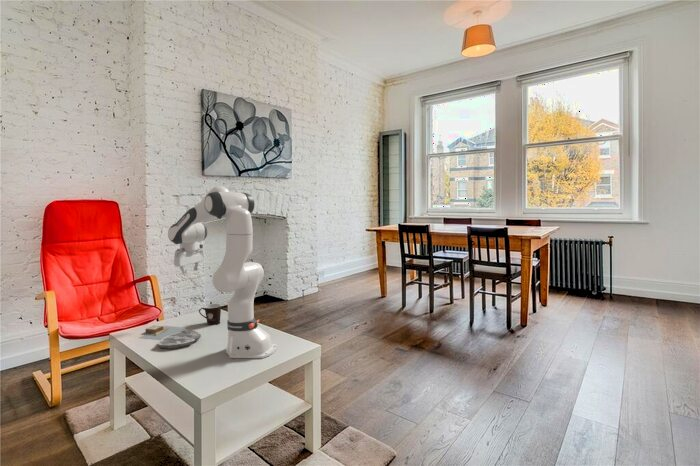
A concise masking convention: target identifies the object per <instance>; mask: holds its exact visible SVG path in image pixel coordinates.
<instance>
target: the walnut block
mask: <svg viewBox="0 0 700 466" xmlns="http://www.w3.org/2000/svg"><path fill="white" fill-rule="evenodd" d="M163 327H164V326H163V325H152V326H149V327H147V328H144V329H145V334H155V333H157V332H159V331H161V330H163Z"/></svg>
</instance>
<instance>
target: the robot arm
mask: <svg viewBox="0 0 700 466" xmlns="http://www.w3.org/2000/svg"><path fill="white" fill-rule="evenodd" d="M254 210H255V199H254V197H253V196H252V195H251V194H249V193H246V192H236V191H230V190H229V189H228V188H227V187H225V186H222V185H216V186H214V187H213V188H211V189H210V190H209V191H208V192H207V193H206V195H204V197H203V199H202V200H200V202H198V203H197V204H195V205H194V206H193V207H191V208H189V209H188V210H186V212H185V213H184V214H183V215H182V216H181V217H180V218H179V219H178V220H177V222H175V223H173V224H172V225H170V227H169V229H168V231H167V236H168V239H169V241H170V242H172V244H175V245H179V248H176V250H175V252H174V256H173V265H174V267H176V268H179V269H180V271H181V274H182V275H185V274H187V273H188V272H187V270H186V266H188V265H192V264H194V267H193V271H195V272H197V271H198V270H199V265H200V262H203V261H204V259H205V250H204V247H205V246H204V243H199V242H202V241H203V242H204V240H206V239H207V237H208V228H207V226H205V224H204V222H209V221H210V222H211V221H215V220H217V219H219V220H221V219H222V218H224V219H225V221H226V234H225V235H226V240H225V241H226V243H225V244H226V245H225V252H224V256H223V259H222V262H221V263H220V265H219V267H218V268H217V269H216V270H215V272H214V273H213V275H212V280H211V281H212V286H213V287H214V289H215V290H216V291H217V292H219V293H231V292H233V295H232V297H231V298H230V299H229V301H228V303H227V323H226V324H227V331H228V332H227V333H228V334H227V336H228V337H227V344H226V349H225V353H226V354H227V355H228V358H229V359H265V358H267V357H269V356H271V355H272V354H273V353H275V352H276V350H278V349H277V348H278V344H276V343H273V341H272V337H271V335H270V334H269V333H268V332H266V331H265V330H264V329H263V328H261V327H260V326H259V324H258V323H259V322H260V319H257V320H256V318H255V315H254V314H255V312H254V307H255V306H254V305H255V304H254V303H255V302H254V300H255V295H256V293H257V289H258V287H259V285H260V283H261V282H262V281H263V279H264V276H265V270H264V268H263V266H262V264H260V263H259V262H253V261H246V260H247V259H248V257H249V256H250V255H251V253H252V252H253V249H254V247H253V246H254V245H253V244H254V241H253V239H254V237H253V236H254V235H253V234H254V233H253V232H254V231H253V219H252V215H251V214H252V213H253V211H254Z"/></svg>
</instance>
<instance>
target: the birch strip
mask: <svg viewBox="0 0 700 466" xmlns="http://www.w3.org/2000/svg"><path fill="white" fill-rule="evenodd" d="M167 330H169V328H166V329H163V330H161V331H159V332H157V333H155V336H157V335H159V334H161V333H163V332H165V331H167Z"/></svg>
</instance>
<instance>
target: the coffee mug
mask: <svg viewBox="0 0 700 466" xmlns="http://www.w3.org/2000/svg"><path fill="white" fill-rule="evenodd" d="M201 310H203V311H204V312H205V315H204V314H202V313H201ZM221 312H222V304H220V303H211V304H207V305H205V306H204V307H200V308H199V310H198V313H199V315H200V316H202V317H203V318H205V319H206V323H207V325H208V326H218V325H220V323H221V315H222V314H221Z"/></svg>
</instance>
